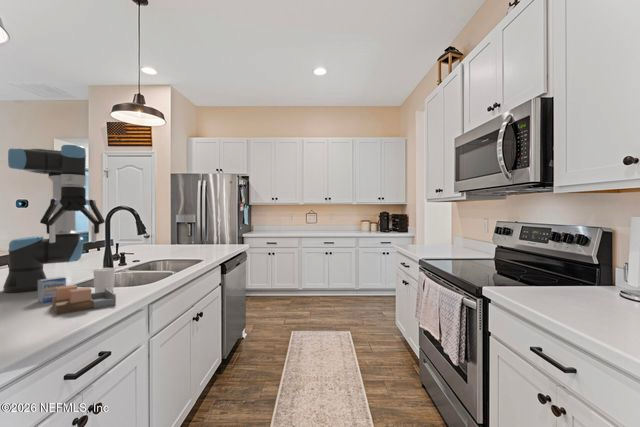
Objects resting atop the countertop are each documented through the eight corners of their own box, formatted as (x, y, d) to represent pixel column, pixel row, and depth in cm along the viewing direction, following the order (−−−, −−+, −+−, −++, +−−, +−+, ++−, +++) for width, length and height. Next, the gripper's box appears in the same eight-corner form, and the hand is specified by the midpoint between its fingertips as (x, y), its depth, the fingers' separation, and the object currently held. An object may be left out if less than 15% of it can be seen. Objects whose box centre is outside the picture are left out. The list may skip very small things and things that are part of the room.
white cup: (104, 294, 141) (104, 271, 141) (88, 293, 142) (88, 270, 142) (119, 290, 148) (119, 268, 148) (104, 289, 150) (104, 267, 150)
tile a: (55, 297, 124) (55, 287, 124) (75, 295, 128) (75, 284, 128) (57, 300, 121) (57, 289, 121) (77, 297, 125) (77, 286, 125)
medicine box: (42, 303, 127) (41, 280, 127) (37, 301, 130) (37, 279, 130) (66, 298, 134) (66, 277, 134) (61, 297, 136) (61, 276, 136)
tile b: (69, 300, 121) (69, 289, 121) (88, 297, 125) (88, 287, 125) (71, 303, 117) (71, 292, 117) (91, 300, 122) (91, 289, 122)
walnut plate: (52, 306, 124) (52, 298, 124) (86, 300, 131) (86, 293, 131) (57, 314, 114) (57, 305, 114) (93, 308, 121) (93, 300, 121)
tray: (85, 300, 131) (85, 290, 131) (106, 297, 136) (106, 287, 136) (93, 308, 121) (93, 297, 121) (115, 304, 126) (115, 294, 126)
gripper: (28, 184, 119) (28, 243, 119) (107, 187, 126) (107, 243, 126) (39, 185, 126) (39, 241, 127) (113, 188, 133) (113, 240, 133)
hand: (73, 242), depth 126 cm, fingers open, 13 cm apart
